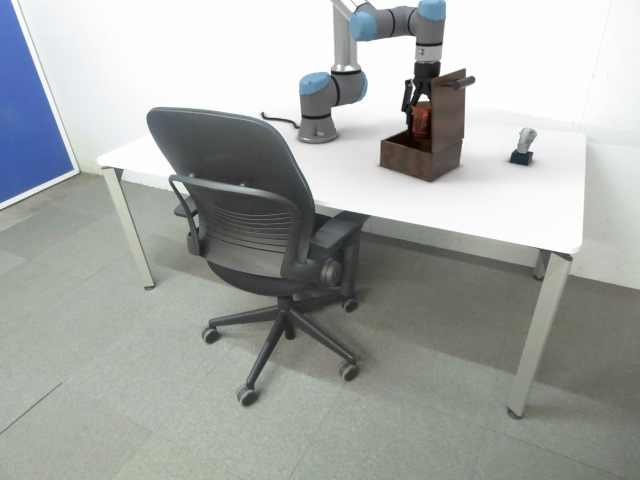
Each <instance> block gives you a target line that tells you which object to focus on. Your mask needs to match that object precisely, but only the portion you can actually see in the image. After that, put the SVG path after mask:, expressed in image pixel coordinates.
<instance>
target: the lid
mask: <svg viewBox="0 0 640 480" xmlns="http://www.w3.org/2000/svg"><path fill="white" fill-rule="evenodd" d="M475 83H476V77H475V76H474V75H469V76H467V68H466V67H464V68H460V69H457V70H454V71H451V72H449V73H445V74H443V75H439V77H436V78H433V79H431V104H432V153H436V152H438V151H440V150H442V149H444V148H446V147H448V146H450V145H452V144H454V143H456V142H458V141H460V140H462V139H465V127H466V125H465V123H466V91H467V90H466V89H467V87H469V86H472V85H474V84H475Z"/></svg>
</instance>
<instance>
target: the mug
mask: <svg viewBox="0 0 640 480" xmlns="http://www.w3.org/2000/svg"><path fill="white" fill-rule="evenodd" d="M411 107H412V111H413V113H412V114H413V122H412V136H413V137H414V138H415V139H418V140H429V139H430V133H431V122H432V108H431V105H430V101H429V100H420V101H418V103H417V105H416V107H414V106H412V105H411Z"/></svg>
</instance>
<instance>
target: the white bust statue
mask: <svg viewBox="0 0 640 480" xmlns="http://www.w3.org/2000/svg"><path fill="white" fill-rule="evenodd" d="M518 135H519V139H518V143H517V145H516V148H515V149H513V151H512V152H511V154H510V159H509V163H512V164H518V165H522V166H528V167H529V165H530V164H531V163H532V161H533V157H534V151H531V150H530V151H529V149H530V147H531V145H532V143H534V141H535V139H536V138H537V136H538V131H537V130H536V129H535V128H533V127H529V126H528V127H522V129H521V131H519V132H518Z"/></svg>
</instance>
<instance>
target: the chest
mask: <svg viewBox="0 0 640 480" xmlns="http://www.w3.org/2000/svg"><path fill="white" fill-rule="evenodd" d="M463 141H464V140H463V139H462V140H460V141H458V142H456V143H454V144H452V145H450V146H448V147H446V148H444V149H442V150H440V151H438V152H436V153H432V142H430V139H429V140H418V139H415V138H414V137H413V136H412V135H411V136H407V129H404V130H402V131H399V132H396V133H395V134H392V135H390V136H388V137H386V138H383V139H381V140H380V145H379V146H380V149H379V156H380V157H379V167H382V168H385V169H388V170H391V171H395V172H397V173H401V174H404V175H407V176H410V177H413V178H415V179H419V180H422V181H425V182H427V183H432V182H433V181H435V180H437V179H438V178H440V177H442V176H444V175H445V174H447V173H449V172H451V171H453V170H454V169H455V168H458V167H459V166H460V163H461V156H462V149H463V148H462V147H463Z"/></svg>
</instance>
